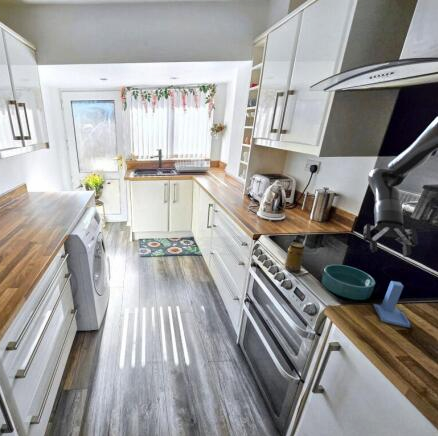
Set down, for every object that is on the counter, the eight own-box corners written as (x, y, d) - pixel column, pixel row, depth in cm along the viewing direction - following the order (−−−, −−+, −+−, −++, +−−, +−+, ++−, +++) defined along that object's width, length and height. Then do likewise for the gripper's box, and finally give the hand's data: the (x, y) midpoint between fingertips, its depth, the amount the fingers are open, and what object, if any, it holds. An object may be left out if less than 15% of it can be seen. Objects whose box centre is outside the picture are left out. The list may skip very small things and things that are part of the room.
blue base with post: (373, 305, 85) (382, 279, 81) (397, 310, 82) (409, 283, 78) (381, 321, 78) (392, 293, 74) (409, 327, 75) (422, 299, 71)
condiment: (291, 263, 112) (296, 240, 108) (308, 272, 105) (314, 248, 100) (279, 266, 110) (284, 243, 106) (296, 276, 102) (301, 251, 98)
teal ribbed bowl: (363, 281, 97) (367, 269, 95) (376, 305, 85) (381, 291, 82) (318, 273, 104) (321, 261, 102) (324, 294, 91) (328, 281, 89)
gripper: (368, 207, 91) (369, 247, 85) (419, 211, 85) (424, 254, 79) (360, 215, 97) (360, 253, 91) (407, 220, 91) (411, 260, 85)
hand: (390, 253), depth 85 cm, fingers open, 8 cm apart
